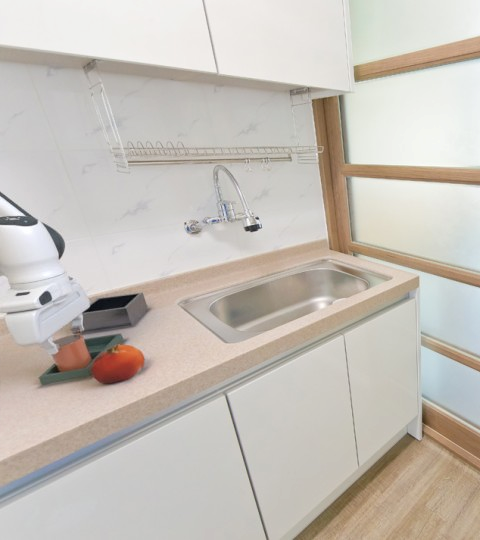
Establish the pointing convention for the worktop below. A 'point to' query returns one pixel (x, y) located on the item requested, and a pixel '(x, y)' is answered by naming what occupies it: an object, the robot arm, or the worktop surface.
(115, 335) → the tray
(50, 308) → the robot arm
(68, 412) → the worktop surface
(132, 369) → the tomato
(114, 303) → the basin
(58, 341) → the cup
